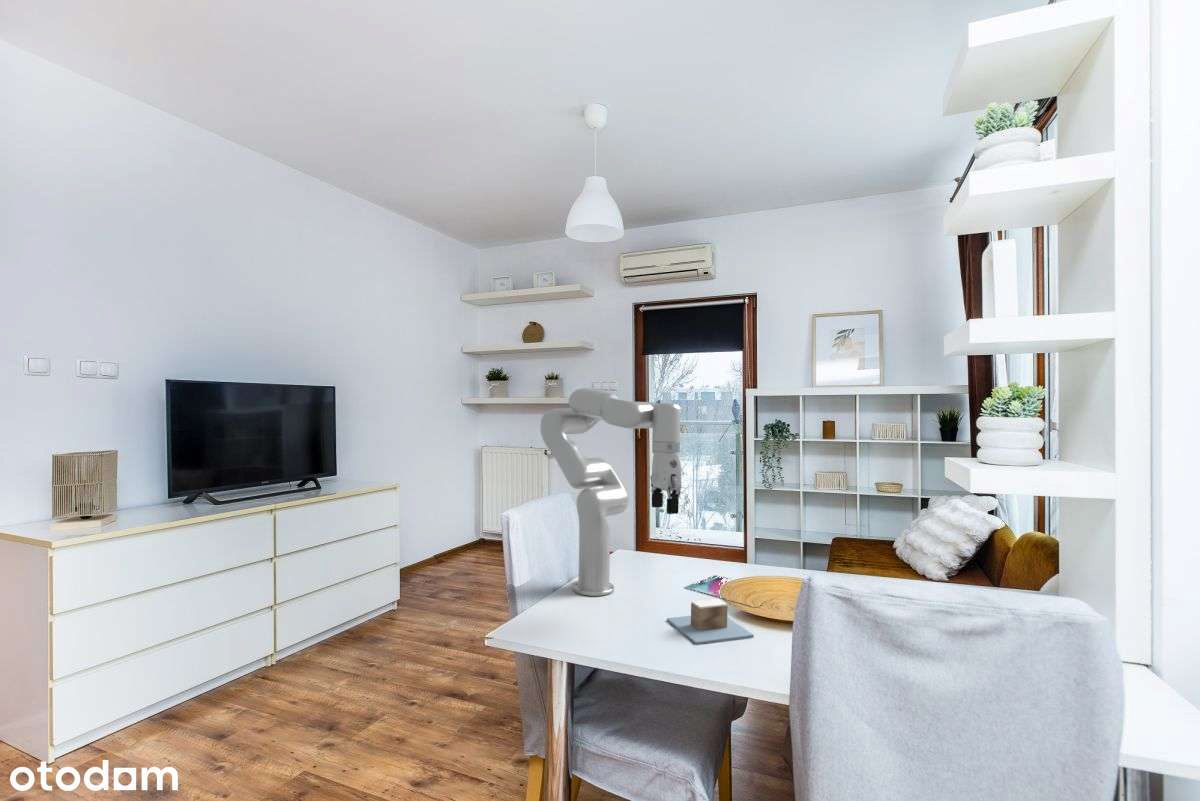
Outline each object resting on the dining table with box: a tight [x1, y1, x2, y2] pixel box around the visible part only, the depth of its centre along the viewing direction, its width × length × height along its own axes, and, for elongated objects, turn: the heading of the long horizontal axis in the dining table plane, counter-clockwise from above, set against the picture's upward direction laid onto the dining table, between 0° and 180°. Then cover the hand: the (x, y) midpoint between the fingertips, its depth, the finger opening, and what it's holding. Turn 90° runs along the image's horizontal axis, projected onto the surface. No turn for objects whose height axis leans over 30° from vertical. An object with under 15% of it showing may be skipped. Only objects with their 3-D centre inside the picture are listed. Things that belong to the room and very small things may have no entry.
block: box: [690, 598, 729, 631], centre depth 148 cm, size 8×4×6 cm, turn 109°
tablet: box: [683, 575, 732, 599], centre depth 179 cm, size 19×25×1 cm
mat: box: [666, 615, 755, 646], centre depth 148 cm, size 16×16×1 cm
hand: (664, 510), depth 158 cm, fingers open, 9 cm apart
